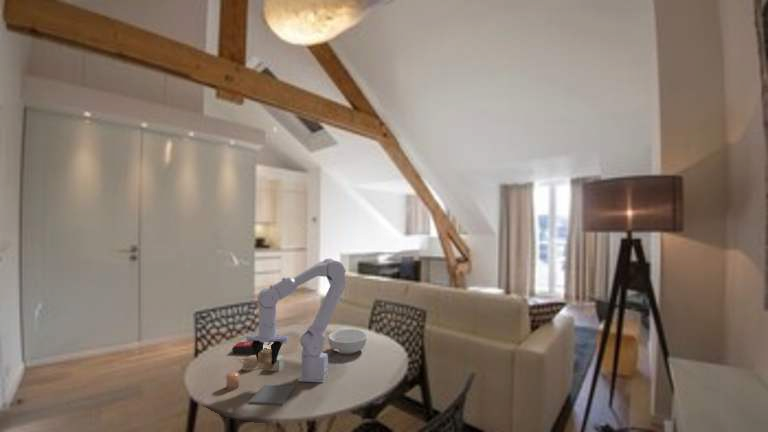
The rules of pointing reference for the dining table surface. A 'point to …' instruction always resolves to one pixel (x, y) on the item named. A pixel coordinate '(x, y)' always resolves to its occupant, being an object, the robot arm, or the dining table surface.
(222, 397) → the dining table surface
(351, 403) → the dining table surface
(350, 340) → the cereal bowl
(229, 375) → the terracotta cylinder
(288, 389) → the slate mat
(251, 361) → the cream ribbed piece
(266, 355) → the oak block
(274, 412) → the dining table surface
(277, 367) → the sage block
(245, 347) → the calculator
